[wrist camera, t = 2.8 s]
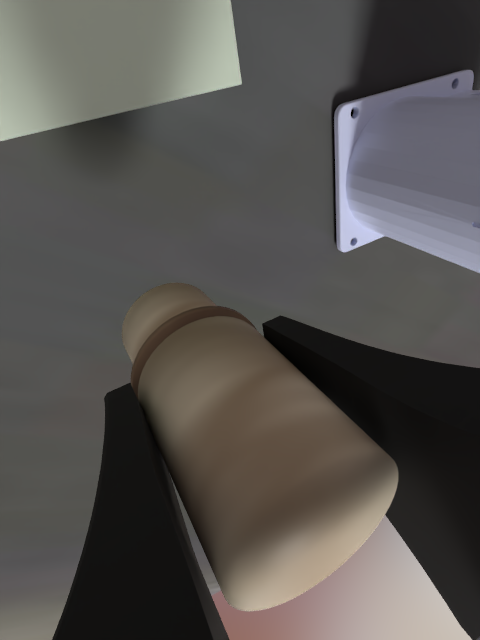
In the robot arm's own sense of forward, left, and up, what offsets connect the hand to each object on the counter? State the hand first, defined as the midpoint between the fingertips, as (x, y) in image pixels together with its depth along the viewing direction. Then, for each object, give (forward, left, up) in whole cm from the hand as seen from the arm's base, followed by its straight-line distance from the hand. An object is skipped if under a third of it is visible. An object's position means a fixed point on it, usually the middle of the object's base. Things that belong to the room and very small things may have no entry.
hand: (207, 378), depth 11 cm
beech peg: (0, 0, -3) cm, 3 cm away
